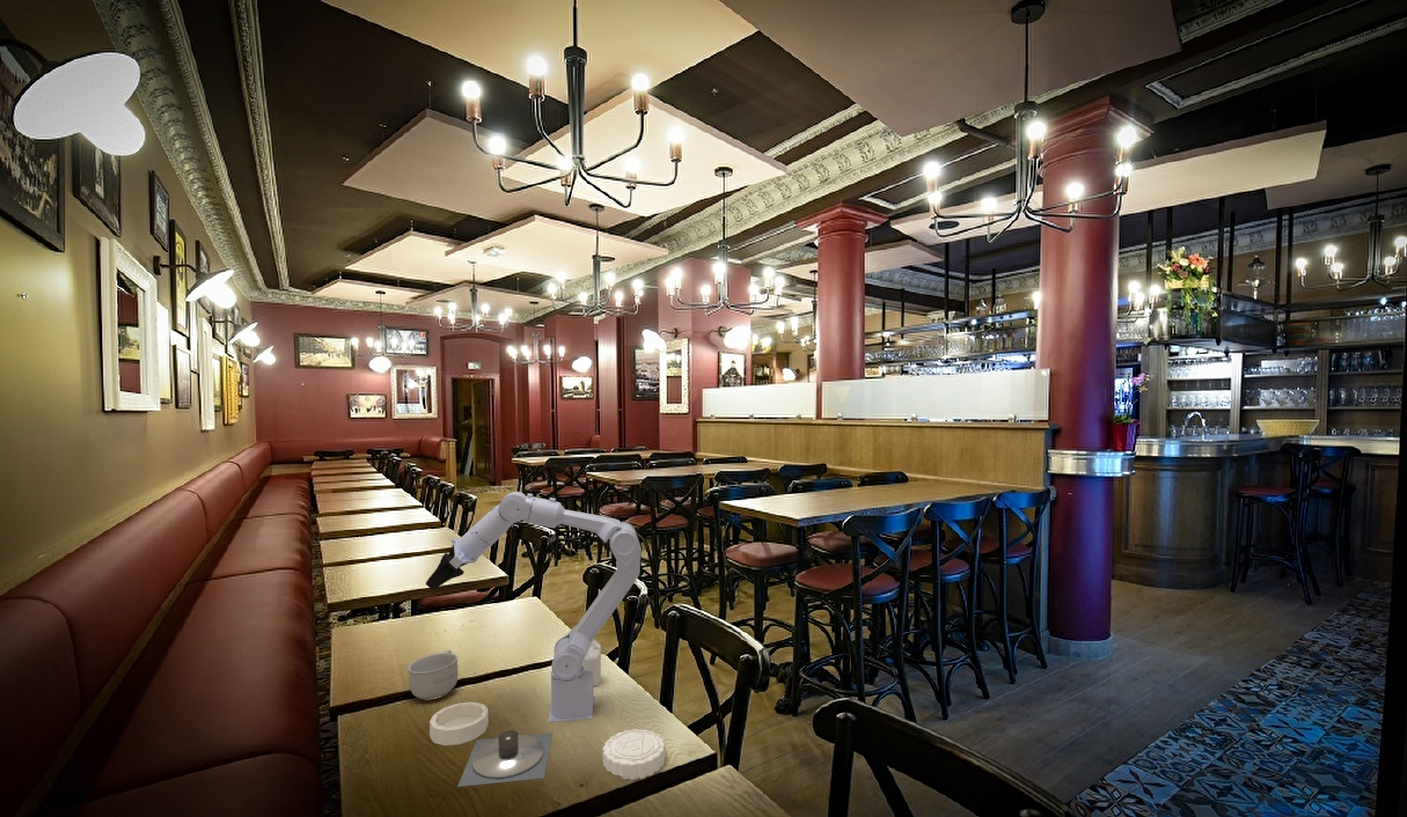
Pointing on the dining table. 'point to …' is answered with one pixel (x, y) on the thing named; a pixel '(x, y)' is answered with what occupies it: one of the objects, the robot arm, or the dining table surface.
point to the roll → (593, 661)
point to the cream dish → (458, 723)
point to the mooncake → (634, 754)
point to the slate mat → (535, 773)
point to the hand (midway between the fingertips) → (433, 581)
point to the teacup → (433, 675)
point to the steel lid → (507, 756)
